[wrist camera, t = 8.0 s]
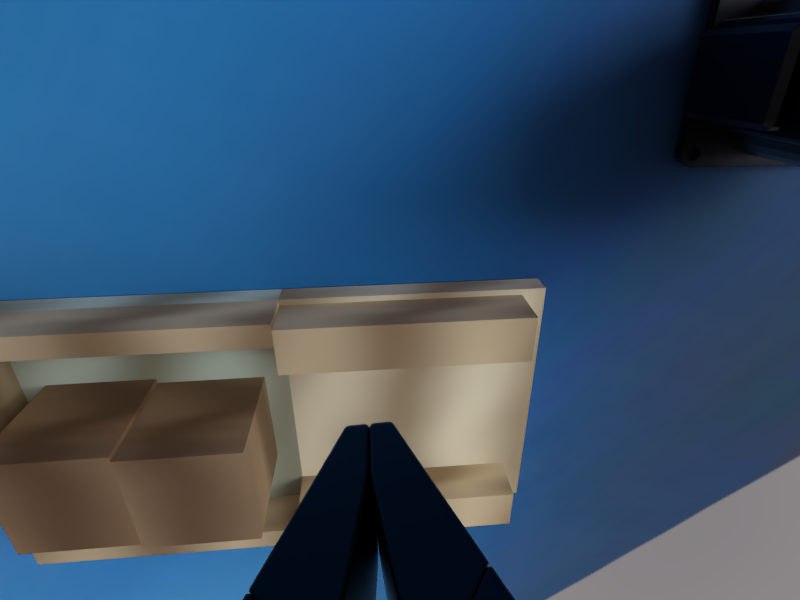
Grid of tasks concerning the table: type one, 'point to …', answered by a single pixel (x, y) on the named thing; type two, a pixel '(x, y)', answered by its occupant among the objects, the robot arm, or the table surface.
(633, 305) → the table surface
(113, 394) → the brown wooden cube
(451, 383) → the slot board
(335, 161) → the table surface
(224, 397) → the brown cube
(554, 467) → the table surface
